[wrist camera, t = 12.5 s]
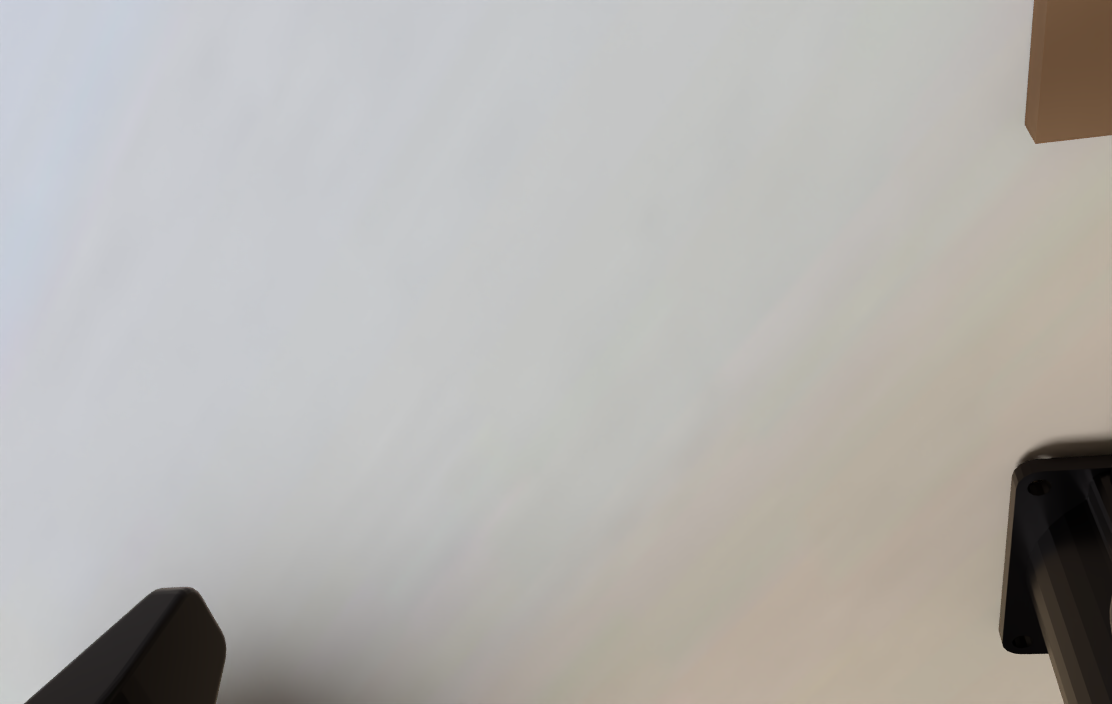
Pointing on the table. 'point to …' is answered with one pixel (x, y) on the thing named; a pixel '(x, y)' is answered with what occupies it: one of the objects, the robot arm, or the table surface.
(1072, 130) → the walnut U-rest
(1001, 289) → the table surface
